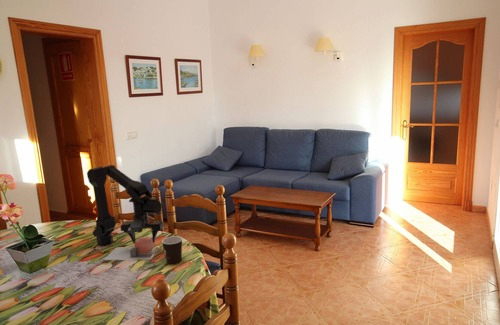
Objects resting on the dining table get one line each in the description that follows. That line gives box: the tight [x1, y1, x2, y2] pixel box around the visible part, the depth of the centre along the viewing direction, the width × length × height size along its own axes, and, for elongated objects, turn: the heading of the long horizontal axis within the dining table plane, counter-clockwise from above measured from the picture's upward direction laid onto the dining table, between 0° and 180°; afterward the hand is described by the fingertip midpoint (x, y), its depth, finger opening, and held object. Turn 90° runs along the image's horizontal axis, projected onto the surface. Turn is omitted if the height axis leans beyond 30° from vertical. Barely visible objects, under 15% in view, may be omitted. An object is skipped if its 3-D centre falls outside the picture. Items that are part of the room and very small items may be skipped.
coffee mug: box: [161, 235, 183, 266], centre depth 168 cm, size 12×9×10 cm
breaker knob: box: [130, 247, 139, 257], centre depth 171 cm, size 2×3×3 cm
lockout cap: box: [134, 236, 154, 253], centre depth 177 cm, size 6×6×5 cm
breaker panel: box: [103, 245, 161, 261], centre depth 175 cm, size 22×13×2 cm, turn 85°
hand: (144, 243), depth 177 cm, fingers open, 9 cm apart
